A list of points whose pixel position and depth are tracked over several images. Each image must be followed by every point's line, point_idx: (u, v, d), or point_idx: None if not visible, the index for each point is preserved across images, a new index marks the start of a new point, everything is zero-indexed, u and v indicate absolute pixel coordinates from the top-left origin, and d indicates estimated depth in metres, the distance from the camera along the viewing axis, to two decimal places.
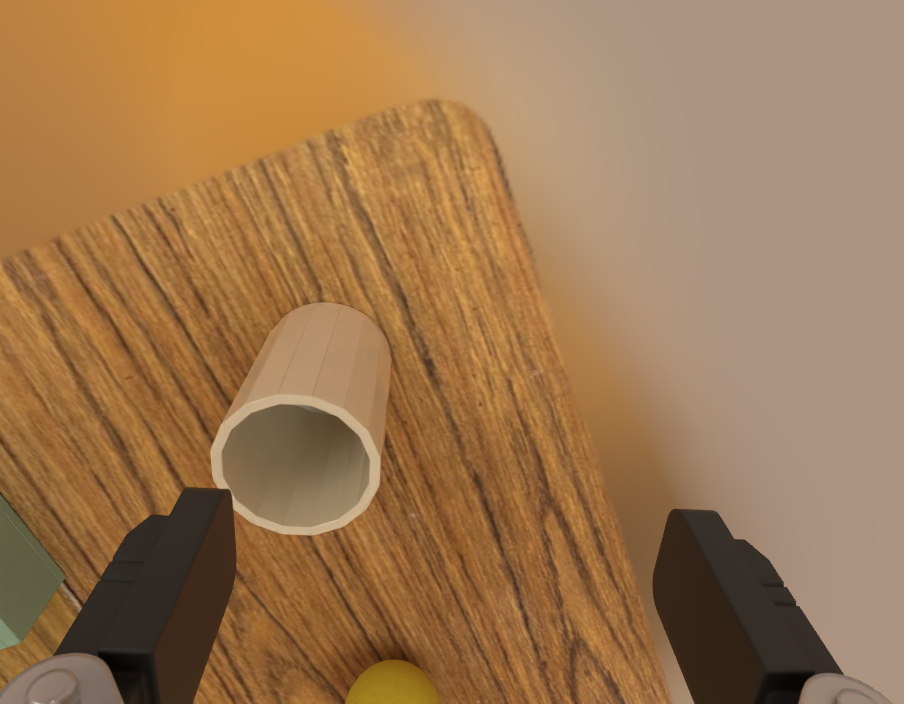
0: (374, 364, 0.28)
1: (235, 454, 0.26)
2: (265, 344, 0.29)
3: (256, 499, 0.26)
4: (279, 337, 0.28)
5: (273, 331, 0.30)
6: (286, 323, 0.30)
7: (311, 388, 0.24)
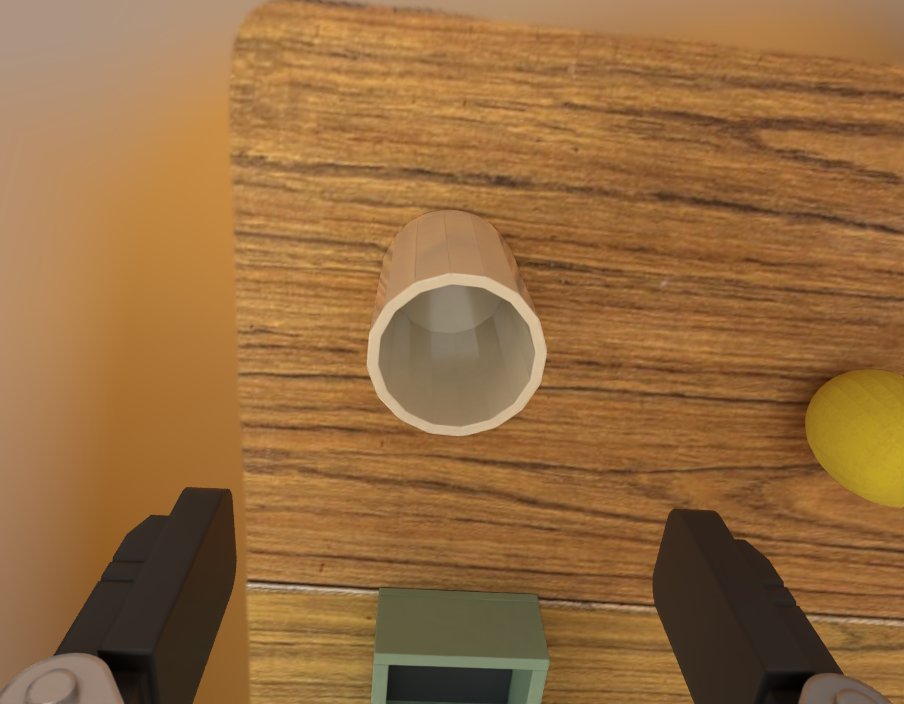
0: (440, 233, 0.26)
1: (434, 402, 0.25)
2: None
3: (481, 410, 0.25)
4: None
5: None
6: None
7: (385, 301, 0.23)
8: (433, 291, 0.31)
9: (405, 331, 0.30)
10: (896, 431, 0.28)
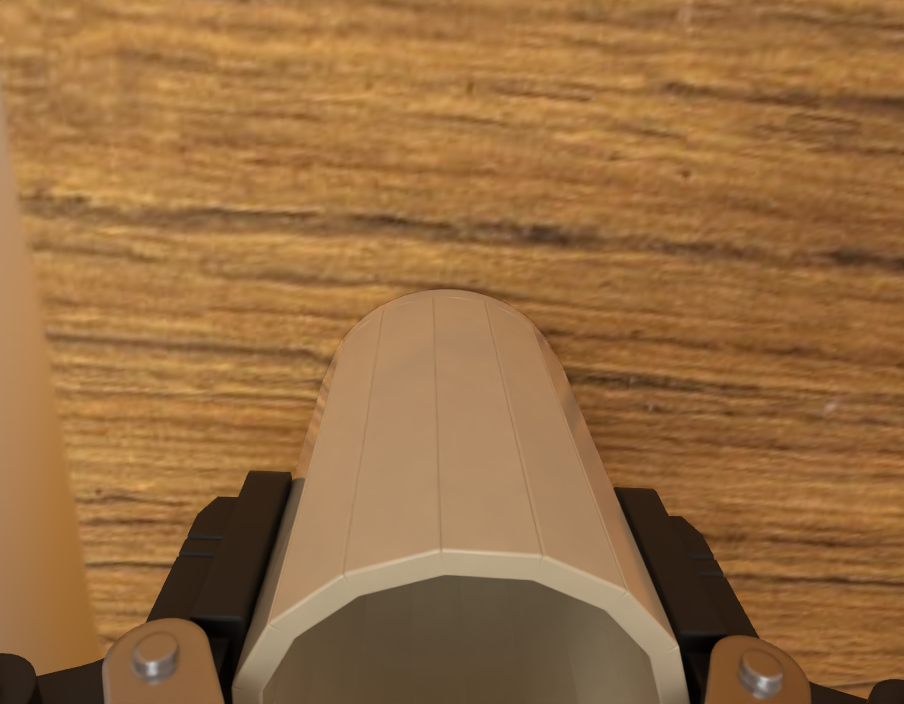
0: (423, 362, 0.12)
1: None
2: None
3: None
4: None
5: None
6: None
7: (273, 596, 0.09)
8: None
9: None
10: None
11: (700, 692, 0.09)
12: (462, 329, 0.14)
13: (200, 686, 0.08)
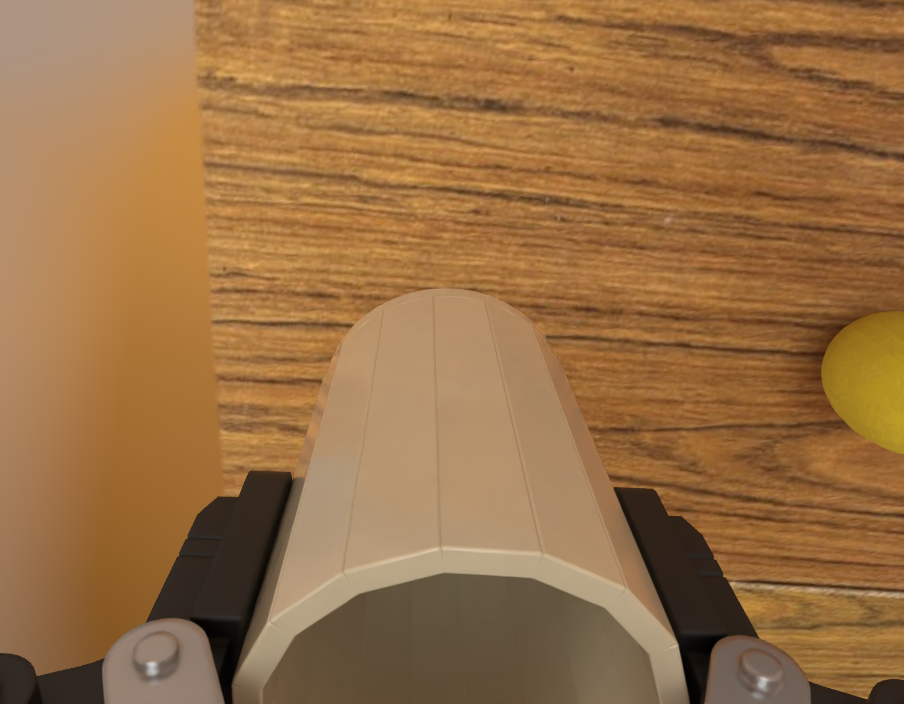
0: (423, 360, 0.12)
1: None
2: None
3: None
4: None
5: None
6: None
7: (273, 594, 0.09)
8: None
9: None
10: None
11: (700, 692, 0.09)
12: (462, 328, 0.14)
13: (200, 686, 0.08)
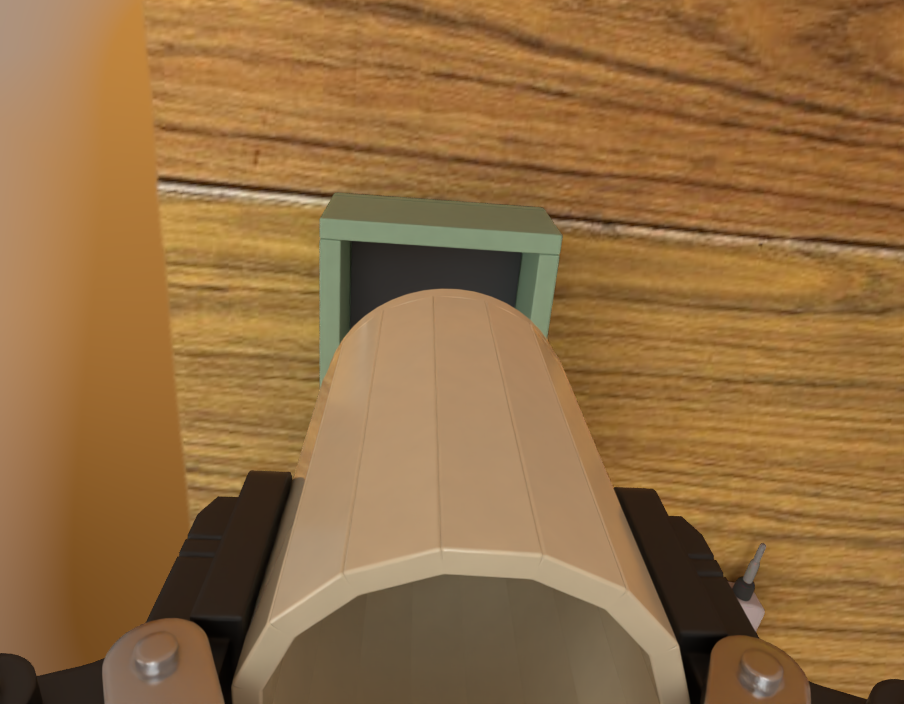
0: (423, 361, 0.12)
1: None
2: None
3: None
4: None
5: None
6: None
7: (273, 595, 0.09)
8: None
9: None
10: None
11: (700, 692, 0.09)
12: (462, 328, 0.14)
13: (200, 686, 0.08)
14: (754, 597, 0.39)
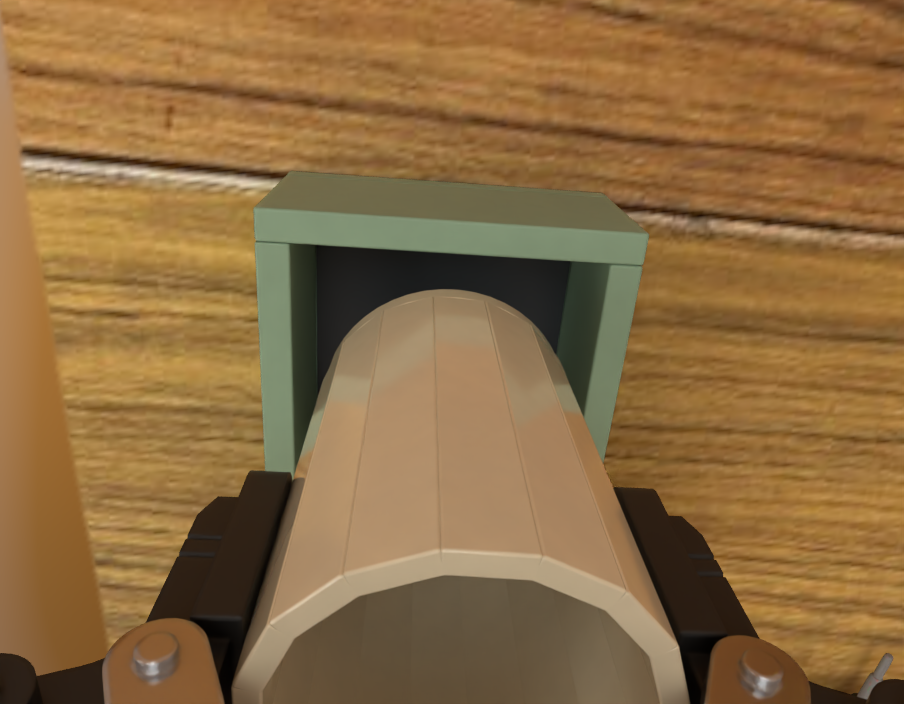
0: (423, 362, 0.12)
1: None
2: None
3: None
4: None
5: None
6: None
7: (273, 596, 0.09)
8: None
9: None
10: None
11: (700, 692, 0.09)
12: (462, 329, 0.14)
13: (200, 686, 0.08)
14: None
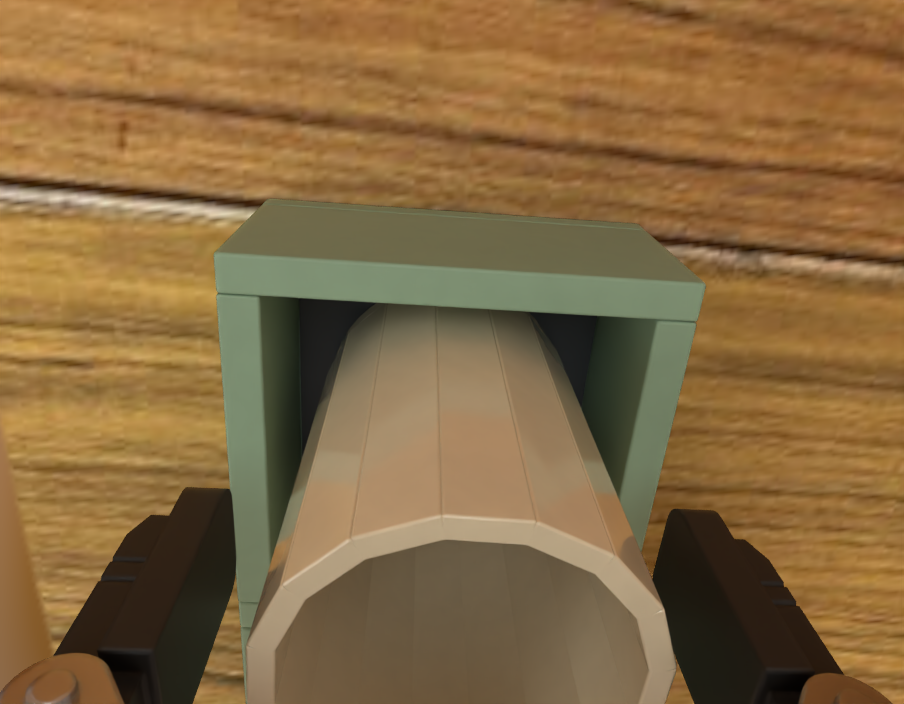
0: (426, 349, 0.13)
1: None
2: None
3: None
4: None
5: None
6: None
7: (285, 562, 0.09)
8: None
9: None
10: None
11: None
12: (463, 319, 0.14)
13: None
14: None
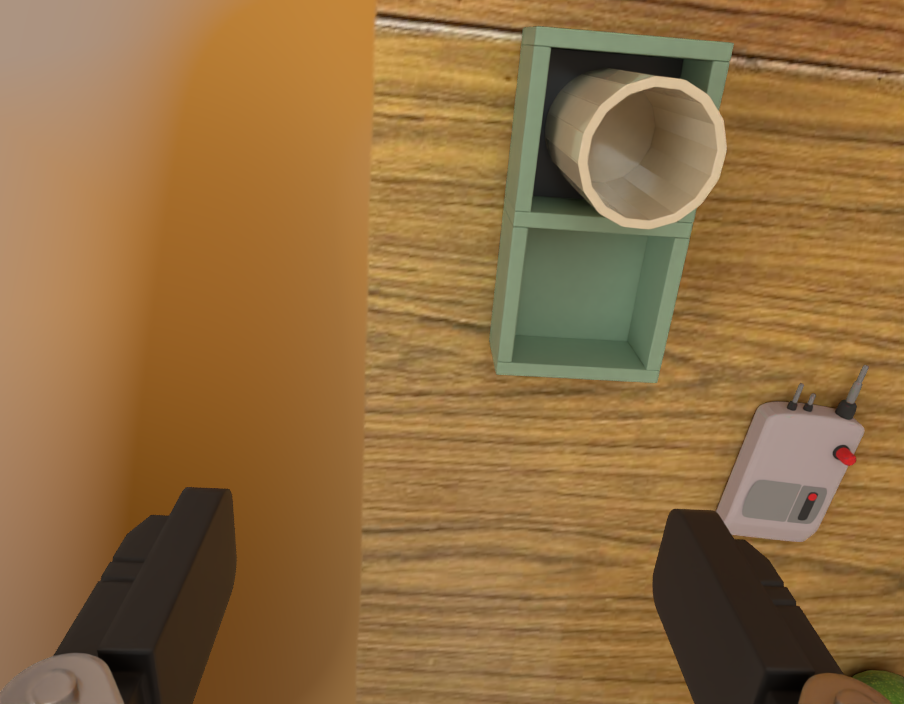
0: (617, 71, 0.31)
1: (618, 209, 0.30)
2: (555, 161, 0.34)
3: (662, 211, 0.29)
4: (554, 142, 0.33)
5: (551, 154, 0.35)
6: (549, 137, 0.34)
7: (595, 106, 0.27)
8: None
9: None
10: None
11: None
12: (625, 70, 0.32)
13: None
14: (854, 419, 0.44)
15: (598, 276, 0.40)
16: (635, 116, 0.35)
